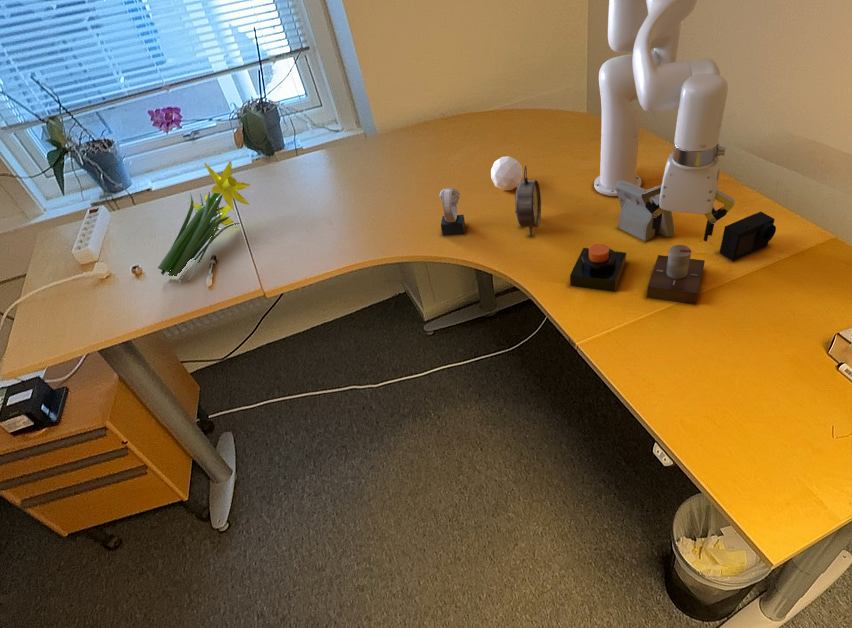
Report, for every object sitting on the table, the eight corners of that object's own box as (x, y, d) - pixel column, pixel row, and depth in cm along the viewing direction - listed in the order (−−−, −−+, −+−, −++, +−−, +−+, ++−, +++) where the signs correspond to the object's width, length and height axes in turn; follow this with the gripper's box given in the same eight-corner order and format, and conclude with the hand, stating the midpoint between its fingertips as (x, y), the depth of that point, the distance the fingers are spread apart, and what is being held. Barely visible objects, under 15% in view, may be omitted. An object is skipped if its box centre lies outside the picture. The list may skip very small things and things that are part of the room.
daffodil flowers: (144, 281, 149) (209, 184, 163) (202, 305, 153) (260, 208, 167) (130, 246, 134) (203, 143, 149) (194, 273, 138) (259, 170, 152)
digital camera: (736, 264, 128) (742, 236, 122) (718, 253, 131) (724, 225, 126) (771, 248, 130) (779, 220, 125) (753, 238, 134) (760, 210, 129)
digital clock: (678, 237, 137) (683, 196, 129) (646, 250, 135) (650, 208, 127) (637, 209, 147) (640, 169, 139) (607, 220, 145) (609, 180, 137)
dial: (664, 277, 122) (668, 254, 118) (667, 266, 125) (670, 242, 120) (686, 280, 121) (690, 256, 116) (688, 268, 123) (692, 244, 119)
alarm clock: (536, 239, 143) (532, 176, 131) (515, 239, 144) (509, 177, 132) (542, 216, 150) (539, 155, 138) (522, 216, 151) (517, 155, 139)
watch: (466, 221, 152) (459, 181, 144) (463, 238, 146) (456, 197, 138) (445, 222, 152) (437, 183, 144) (441, 239, 147) (433, 199, 139)
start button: (591, 250, 129) (591, 242, 127) (611, 253, 127) (611, 244, 126) (586, 261, 126) (586, 253, 125) (606, 264, 125) (606, 256, 123)
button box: (583, 258, 135) (583, 239, 131) (625, 263, 132) (626, 244, 128) (570, 286, 128) (570, 267, 125) (614, 292, 125) (615, 273, 122)
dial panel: (656, 266, 130) (658, 254, 128) (702, 271, 127) (705, 259, 125) (646, 298, 123) (647, 285, 120) (694, 304, 120) (697, 292, 117)
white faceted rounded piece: (532, 184, 158) (518, 172, 167) (518, 154, 152) (505, 143, 161) (505, 201, 159) (493, 188, 168) (490, 172, 153) (479, 159, 162)
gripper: (747, 145, 103) (728, 229, 116) (650, 139, 109) (642, 220, 121) (742, 166, 99) (723, 250, 112) (642, 158, 104) (634, 240, 117)
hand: (681, 234), depth 116 cm, fingers open, 9 cm apart
